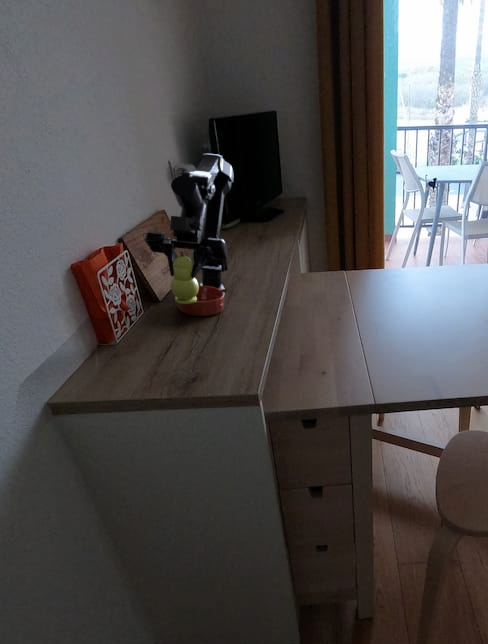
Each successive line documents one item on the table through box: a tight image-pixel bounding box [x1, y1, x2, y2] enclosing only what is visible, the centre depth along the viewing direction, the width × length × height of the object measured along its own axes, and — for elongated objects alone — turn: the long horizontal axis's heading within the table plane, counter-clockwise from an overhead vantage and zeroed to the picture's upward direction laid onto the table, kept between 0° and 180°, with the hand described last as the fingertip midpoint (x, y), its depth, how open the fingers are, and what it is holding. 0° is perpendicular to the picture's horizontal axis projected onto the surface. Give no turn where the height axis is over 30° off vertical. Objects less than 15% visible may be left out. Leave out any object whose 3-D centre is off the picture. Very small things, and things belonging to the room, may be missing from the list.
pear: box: [170, 251, 200, 304], centre depth 114 cm, size 7×7×12 cm
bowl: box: [177, 285, 226, 317], centre depth 127 cm, size 12×12×4 cm
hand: (182, 276), depth 112 cm, fingers closed on pear, 4 cm apart
